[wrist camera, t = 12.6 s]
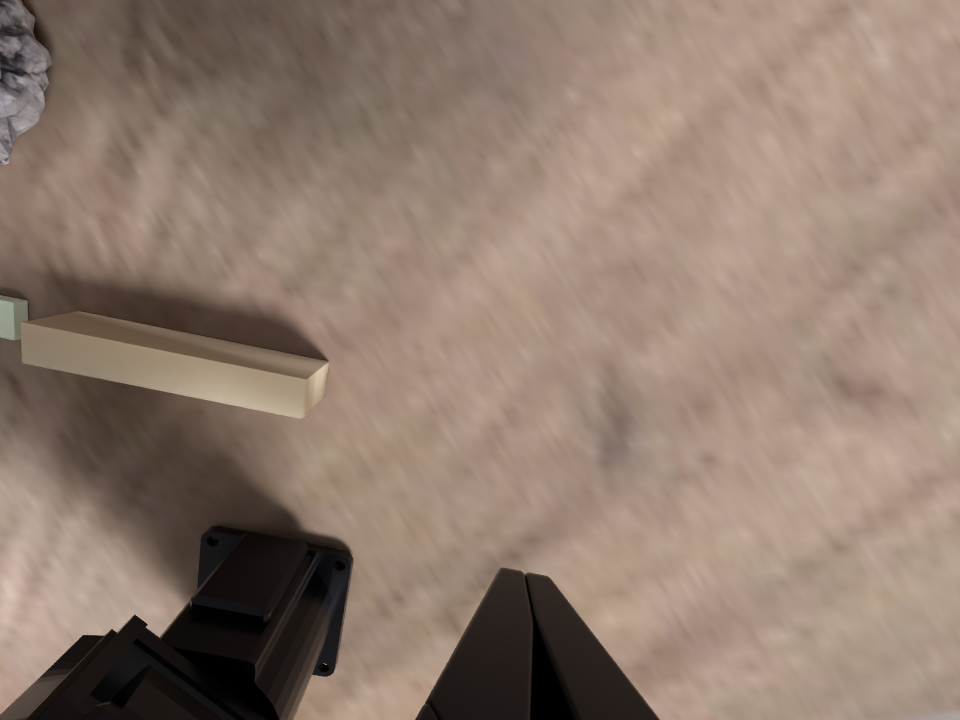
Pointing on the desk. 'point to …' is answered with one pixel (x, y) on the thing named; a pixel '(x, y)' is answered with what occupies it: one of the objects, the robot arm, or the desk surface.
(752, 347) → the desk surface
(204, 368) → the corridor walls
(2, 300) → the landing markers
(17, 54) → the mineral specimen
